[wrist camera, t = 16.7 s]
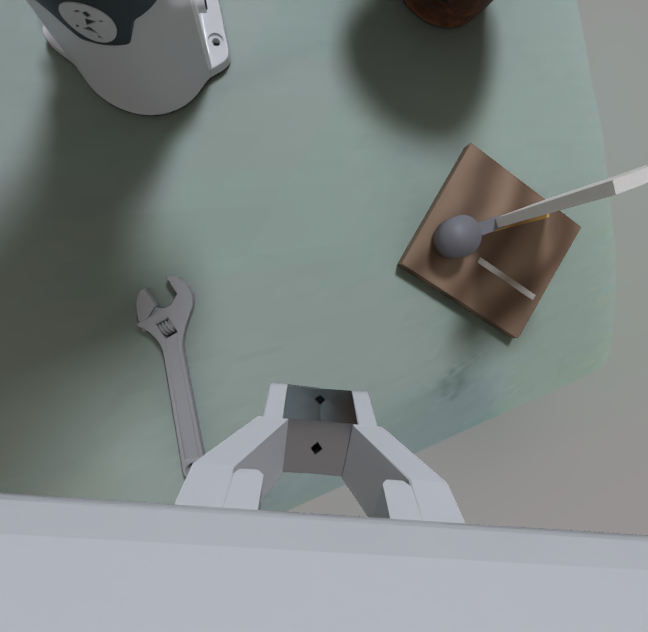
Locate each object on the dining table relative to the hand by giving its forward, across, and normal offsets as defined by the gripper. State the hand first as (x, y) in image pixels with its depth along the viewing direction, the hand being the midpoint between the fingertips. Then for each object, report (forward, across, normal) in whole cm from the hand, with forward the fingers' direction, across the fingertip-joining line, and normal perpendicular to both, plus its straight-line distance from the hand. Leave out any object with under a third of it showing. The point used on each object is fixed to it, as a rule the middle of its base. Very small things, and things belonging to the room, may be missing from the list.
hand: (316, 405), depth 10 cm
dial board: (+36, -24, -2) cm, 43 cm away
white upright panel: (+34, -23, -5) cm, 42 cm away
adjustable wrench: (+26, +15, +18) cm, 35 cm away
